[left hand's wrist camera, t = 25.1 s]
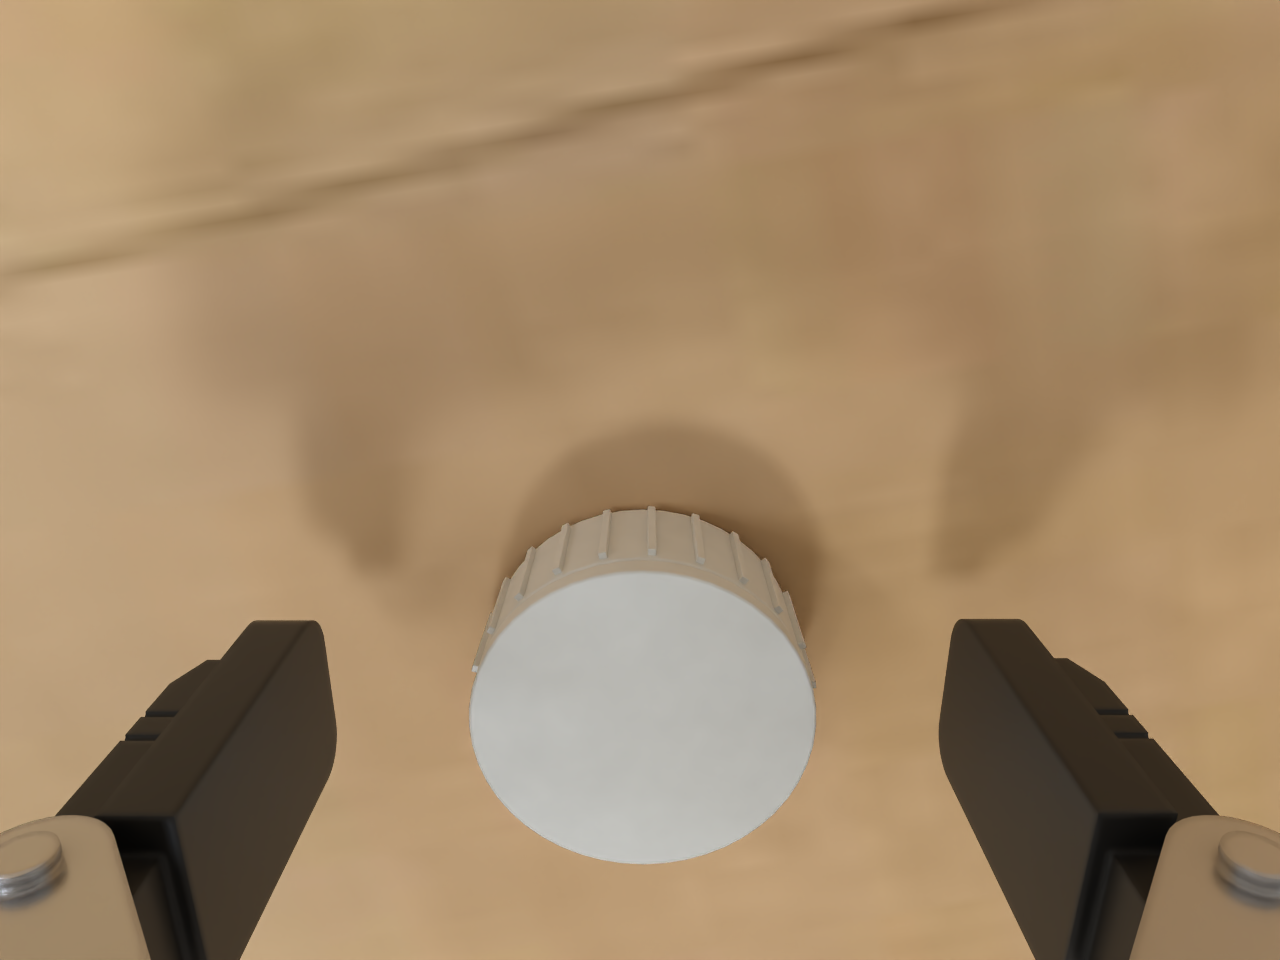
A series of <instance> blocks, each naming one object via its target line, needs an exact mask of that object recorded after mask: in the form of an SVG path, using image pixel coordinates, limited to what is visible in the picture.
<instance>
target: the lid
mask: <svg viewBox="0 0 1280 960" xmlns="http://www.w3.org/2000/svg"><path fill="white" fill-rule="evenodd" d="M805 648H806V644H805V641H804V638H803V635H802V632H801V629H800V626H799V622H798V619H797V616H796V613H795V610H794V607H793V604H792V601H791V597H790V595H789V593H788V591H785V592H783V593H782V591H781V589H780V587H779V585H778V583H777V581H776V579H775V578H774V576H773V573H772V570H771V566H770V563H769V561H768V560H767V559H766V558H764V559H762V560H760V558H759V557H758V556H757V555H756V554H755V553H754V552H753V551H752V550H751V549H749V548H748V547H747V546H746V545H744V544H743V543H742V542H741V541H740V539H739V535H738V534H737V533H735V532H734V531H732V532H731V534H729V533H727V532H726V531H724V530H722V529H720V528H718V527H716V526H714V525H712V524H710V523H707V522H705V521H703V520H700V517H699V515H697V514H694V513H692V515H691V517H690V516H687V515H684V514H678V513H673V512H667V511H659V510H656V508H655V506H648V510H626V511H618V512H612V513H611V510H610V509H608V510H603V514H602V515H598V516H595V517H592V518H589V519H586V520H583V521H580V522H578V523H576V524H574V525H572V526H570V525H569V523H566V524H564V525H562V528H561V531H560V532H558V533H557V534H555V535H554V536H552V537H550V538H549V539H547V540H546V541H545V542H544V543H542V544H541V545H540V546H539V547H538V548H536V549H535V548H534V547H533V546H532V547H531V548H530V549H528V551H527V554H526V557H525V560H524V561H523V563H522V564H521V565H520V566H519V567H518V569H517V570H516V572H515V573H514V575H513V576H512V577H511V579H509V578H507V577H505V579H504V581H503V583H502V586H501V589H500V592H499V595H498V598H497V601H496V604H495V607H494V610H493V613H492V612H491V613H490V615H489V618H488V621H487V624H486V627H485V630H484V633H483V636H482V639H481V642H480V645H479V648H478V651H477V654H476V657H475V660H474V663H473V667H472V671H473V672H477V674H476V677H475V680H474V683H473V686H472V691H471V698H470V705H469V728H470V734H471V740H472V746H473V749H474V752H475V755H476V758H477V761H478V764H479V766H480V768H481V770H482V772H483V775H484V777H485V779H486V781H487V782H488V784H489V785H490V787H491V788H492V790H493V791H494V793H495V794H496V796H497V797H498V799H499V800H500V801H501V802H502V803H503V804H504V805H505V806H506V808H507V809H508V810H509V811H510V812H511V813H512V814H513V815H514V816H515V817H517V818H518V819H519V820H520V821H521V822H522V823H523V824H525V825H526V826H527V827H529V828H530V829H532V830H533V831H534V832H536V833H537V834H539V835H540V836H542V837H543V838H545V839H547V840H549V841H551V842H553V843H555V844H557V845H559V846H561V847H563V848H566V849H568V850H571V851H573V852H576V853H578V854H581V855H585V856H589V857H592V858H596V859H600V860H605V861H612V862H618V863H629V864H657V863H668V862H675V861H681V860H687V859H690V858H694V857H698V856H702V855H705V854H708V853H710V852H713V851H716V850H718V849H721V848H723V847H726V846H728V845H730V844H731V843H733V842H735V841H737V840H739V839H741V838H743V837H744V836H746V835H747V834H749V833H750V832H752V831H753V830H755V829H756V828H758V827H759V826H760V825H762V824H763V823H764V822H765V821H766V820H767V819H768V818H770V817H771V816H772V815H773V814H774V813H775V812H776V811H777V810H778V809H779V808H780V806H781V805H782V804H783V803H784V802H785V801H786V800H787V799H788V797H789V796H790V794H791V793H792V791H793V790H794V788H795V787H796V785H797V784H798V782H799V780H800V778H801V776H802V774H803V772H804V770H805V768H806V766H807V763H808V760H809V757H810V754H811V751H812V747H813V743H814V737H815V730H816V704H815V697H814V691H813V688H816V681H815V678H814V675H813V672H812V669H811V666H810V662H809V659H808V656H807V653H806V650H805Z"/></svg>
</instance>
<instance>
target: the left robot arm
mask: <svg viewBox="0 0 1280 960" xmlns="http://www.w3.org/2000/svg"><path fill="white" fill-rule="evenodd" d="M336 741H337V728H336V719H335V712H334V705H333V698H332V691H331V684H330V677H329V670H328V662H327V655H326V648H325V641H324V636H323V632H322V629H321V627H320V625H319V624H318V623H317V622H316V621H253V622H252V623H250V624H249V625H248V626H247V628H246V629H245V630H244V631H243V633H242V634H241V635H240V636H239V637H238V639H237V640H236V641H235V642H234V644H233V645H232V646H231V647H230V649H229V650H228V651H227V652H226V654H225V655H224V656H223V657H222V658H221V660H206V661H205V662H203V663H202V664H200V665H199V666H197V667H195V668H194V669H192V670H191V671H189V672H188V673H186V674H184V675H183V676H181V677H180V678H178V679H177V680H175V681H173V682H172V683H170V684H169V685H168V686H167V688H166V689H165V690H164V691H163V692H162V693H161V694H160V696H159V697H158V698H157V699H156V700H155V701H154V703H153V704H152V705H151V706H150V707H149V708H148V709H147V711H146V715H145V717H141V718H140V719H139V720H138V721H137V722H136V723H135V724H134V726H133V727H132V728H131V729H130V730H129V731H128V733H127V734H126V738H125V741H120V742H119V743H118V744H117V745H116V746H115V747H114V749H113V750H112V751H111V752H110V753H109V754H108V756H107V757H106V758H105V759H104V760H103V761H102V762H101V764H100V765H99V766H98V767H97V768H96V769H95V771H94V772H93V773H92V774H91V775H90V776H89V777H88V779H87V780H86V781H85V782H84V783H83V784H82V786H81V787H80V788H79V789H78V790H77V791H76V792H75V794H74V795H73V796H72V797H71V798H70V799H69V801H68V802H67V803H66V804H65V805H64V806H63V807H62V809H61V810H60V811H59V812H58V813H57V814H56V816H55V817H48V818H44V819H39V820H35V821H32V822H29V823H25V824H22V825H19V826H17V827H14V828H12V829H9V830H7V831H4V832H2V833H0V960H240V958H241V956H242V954H243V952H244V950H245V948H246V946H247V944H248V941H249V939H250V937H251V935H252V933H253V931H254V929H255V927H256V925H257V923H258V921H259V919H260V917H261V915H262V913H263V911H264V909H265V907H266V905H267V903H268V901H269V899H270V897H271V894H272V892H273V890H274V888H275V886H276V884H277V882H278V880H279V878H280V876H281V874H282V872H283V870H284V868H285V866H286V864H287V862H288V860H289V858H290V856H291V854H292V852H293V850H294V847H295V845H296V843H297V841H298V839H299V837H300V835H301V833H302V831H303V829H304V827H305V825H306V823H307V821H308V819H309V817H310V815H311V813H312V811H313V809H314V807H315V805H316V803H317V801H318V798H319V796H320V794H321V792H322V790H323V788H324V786H325V784H326V782H327V780H328V778H329V776H330V773H331V770H332V767H333V763H334V758H335V752H336ZM939 747H940V754H941V759H942V763H943V767H944V770H945V773H946V775H947V778H948V780H949V782H950V784H951V786H952V788H953V790H954V792H955V794H956V796H957V798H958V800H959V802H960V804H961V807H962V809H963V811H964V813H965V815H966V817H967V819H968V821H969V823H970V825H971V827H972V829H973V831H974V833H975V835H976V838H977V840H978V842H979V844H980V846H981V848H982V850H983V852H984V854H985V856H986V858H987V860H988V862H989V864H990V867H991V869H992V871H993V873H994V875H995V877H996V879H997V881H998V883H999V885H1000V887H1001V889H1002V891H1003V893H1004V895H1005V898H1006V900H1007V902H1008V904H1009V906H1010V908H1011V910H1012V912H1013V914H1014V916H1015V918H1016V920H1017V922H1018V924H1019V926H1020V929H1021V931H1022V933H1023V935H1024V937H1025V939H1026V941H1027V943H1028V945H1029V947H1030V949H1031V951H1032V953H1033V955H1034V957H1035V960H1280V833H1278V832H1276V831H1273V830H1271V829H1268V828H1266V827H1263V826H1261V825H1258V824H1255V823H1251V822H1248V821H1245V820H1241V819H1236V818H1232V817H1225V816H1219V815H1218V813H1217V812H1216V811H1215V810H1214V809H1213V808H1212V806H1211V805H1210V804H1209V803H1208V802H1207V801H1206V800H1205V798H1204V797H1203V796H1202V795H1201V794H1200V793H1199V791H1198V790H1197V789H1196V788H1195V787H1194V786H1193V784H1192V783H1191V782H1190V781H1189V780H1188V779H1187V777H1186V776H1185V775H1184V774H1183V773H1182V772H1181V770H1180V769H1179V768H1178V767H1177V766H1176V765H1175V763H1174V762H1173V761H1172V760H1171V759H1170V758H1169V756H1168V755H1167V754H1166V753H1165V752H1164V751H1163V749H1162V748H1161V747H1160V746H1159V745H1158V744H1157V743H1156V741H1155V740H1154V739H1149V738H1148V732H1147V731H1146V730H1145V729H1144V727H1143V726H1142V725H1141V724H1140V723H1139V722H1138V720H1137V719H1136V718H1135V717H1134V716H1133V715H1129V714H1128V709H1127V708H1126V706H1125V705H1124V704H1123V703H1122V702H1121V701H1120V699H1119V698H1118V697H1117V696H1116V695H1115V694H1114V692H1113V691H1112V690H1111V689H1110V688H1109V687H1108V686H1107V684H1106V683H1105V682H1104V681H1102V680H1101V679H1099V678H1097V677H1096V676H1094V675H1093V674H1091V673H1090V672H1088V671H1086V670H1085V669H1083V668H1082V667H1080V666H1079V665H1077V664H1075V663H1074V662H1072V661H1071V660H1069V659H1068V658H1053V656H1052V655H1051V654H1050V653H1049V651H1048V650H1047V649H1046V648H1045V646H1044V645H1043V644H1042V643H1041V641H1040V640H1039V639H1038V638H1037V636H1036V635H1035V634H1034V633H1033V631H1032V630H1031V629H1030V628H1029V626H1028V625H1027V624H1026V623H1025V622H1024V621H1022V620H1020V619H960V620H958V621H957V622H956V624H955V626H954V628H953V631H952V635H951V641H950V649H949V656H948V663H947V670H946V677H945V685H944V692H943V699H942V706H941V713H940V721H939Z"/></svg>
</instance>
